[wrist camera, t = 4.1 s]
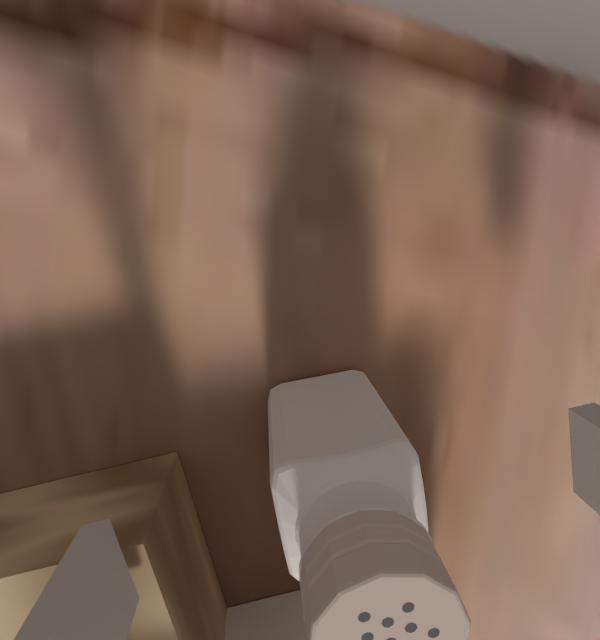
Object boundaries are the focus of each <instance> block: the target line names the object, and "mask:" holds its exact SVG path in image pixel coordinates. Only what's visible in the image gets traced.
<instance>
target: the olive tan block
mask: <svg viewBox="0 0 600 640" xmlns="http://www.w3.org/2000/svg"><path fill="white" fill-rule="evenodd" d="M106 519H110V522H111V524H112V527H113V530H114V532H115V535H116V537H117V540H118V543H119V545H120V548H121V551H122V553H123V556H124V558H125V561H126V564H127V566H128V569H129V572H130V574H131V577H132V579H133V582H134V585H135V587H136V590H137V592H138V595H139V598H140V599H139V602H138V605H137V608H136V611H135V614H134V617H133V620H132V623H131V626H130V629H129V632H128V635H127V638H126V640H224V637H225V626H226V615H227V606H226V603H225V600H224V597H223V593H222V590H221V587H220V584H219V581H218V578H217V575H216V572H215V568H214V565H213V562H212V559H211V556H210V553H209V550H208V547H207V543H206V540H205V537H204V534H203V531H202V528H201V525H200V522H199V518H198V515H197V512H196V509H195V506H194V503H193V500H192V497H191V493H190V490H189V487H188V484H187V481H186V478H185V475H184V472H183V468H182V465H181V462H180V459H179V456H178V453H177V452H174V453H170V454H165V455H161V456H157V457H153V458H149V459H144V460H140V461H136V462H132V463H128V464H123V465H119V466H115V467H111V468H106V469H102V470H98V471H94V472H90V473H85V474H81V475H77V476H73V477H69V478H64V479H60V480H56V481H52V482H48V483H43V484H39V485H35V486H31V487H27V488H22V489H18V490H14V491H10V492H5V493H1V494H0V640H14V638H15V636H16V635H17V633H18V631H19V630H20V628H21V626H22V625H23V623H24V621H25V620H26V618H27V616H28V615H29V613H30V611H31V609H32V608H33V606H34V604H35V603H36V601H37V599H38V598H39V596H40V594H41V593H42V591H43V589H44V588H45V586H46V584H47V583H48V581H49V579H50V578H51V576H52V574H53V572H54V571H55V569H56V567H57V566H58V564H59V562H60V561H61V559H62V557H63V556H64V554H65V552H66V551H67V549H68V547H69V546H70V544H71V542H72V541H73V539H74V537H75V536H76V534H77V532H78V530H79V529H80V527H81V525H85V524H89V523H93V522H97V521H102V520H106Z"/></svg>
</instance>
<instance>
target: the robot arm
mask: <svg viewBox="0 0 600 640" xmlns="http://www.w3.org/2000/svg"><path fill="white" fill-rule="evenodd" d="M568 411H569V427H570V443H571V459H572V475H573V491H574V493H576V494H577V495H578V496H579V497H580V498H581V499H582V500H584V501H585V502H586V503H587V504H588V505H589V506H590V507H591V508H593V509H594V510H595V511H596V512H597V513H598V514H599V515H600V405H598V404H596V403H590V404H586V405H582V406H578V407H574V408H569V409H568ZM139 599H140V598H139V595H138V592H137V590H136V587H135V585H134V582H133V579H132V577H131V574H130V572H129V569H128V566H127V564H126V561H125V558H124V556H123V553H122V551H121V548H120V545H119V543H118V540H117V537H116V535H115V532H114V530H113V527H112V524H111V522H110V519H106V520H102V521H97V522H93V523H89V524H85V525H81V527H80V529H79V530H78V532H77V534H76V536H75V537H74V539H73V541H72V542H71V544H70V546H69V547H68V549H67V551H66V552H65V554H64V556H63V557H62V559H61V561H60V562H59V564H58V566H57V567H56V569H55V571H54V572H53V574H52V576H51V578H50V579H49V581H48V583H47V584H46V586H45V588H44V589H43V591H42V593H41V594H40V596H39V598H38V599H37V601H36V603H35V604H34V606H33V608H32V609H31V611H30V613H29V615H28V616H27V618H26V620H25V621H24V623H23V625H22V626H21V628H20V630H19V631H18V633H17V635H16V636H15V638H14V640H126V638H127V635H128V632H129V629H130V626H131V623H132V620H133V617H134V614H135V611H136V608H137V605H138V602H139Z"/></svg>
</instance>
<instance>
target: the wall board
mask: <svg viewBox="0 0 600 640" xmlns="http://www.w3.org/2000/svg"><path fill="white" fill-rule="evenodd" d="M302 603H303V602H302V600H301V591H300V590H297V591H293V592H289V593H285V594H281V595H277V596H273V597H269V598H265V599H261V600H257V601H253V602H249V603H245V604H241V605H237V606H233V607H229V608H227V615H226V626H225V637H224V640H306V639H305V629H304V619H303V610H302Z"/></svg>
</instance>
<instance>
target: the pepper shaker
mask: <svg viewBox="0 0 600 640" xmlns="http://www.w3.org/2000/svg"><path fill="white" fill-rule="evenodd" d="M268 428H269V463H270V486H271V492H272V497H273V502H274V507H275V513H276V518H277V522H278V527H279V532H280V537H281V541H282V546H283V550H284V554H285V558H286V562H287V566H288V570H289V573H290V574H291V575H292V576H293V577H294V578H295V579H297V580H298V581H300V591H301V600H302V602H303V603H302V610H303V619H304V629H305V639H306V640H467V637H468V633H469V628H470V624H471V620H470V618H469V616H468V613H467V611H466V609H465V607H464V605H463V602H462V600H461V598H460V596H459V594H458V592H457V589H456V587H455V585H454V584H453V582H452V580H451V578H450V576H449V574H448V572H447V570H446V568H445V566H444V565H443V563H442V561H441V559H440V557H439V555H438V553H437V551H436V549H435V547H434V544H433V540H432V538H431V537H430V535H429V533H428V520H427V509H426V500H425V493H424V486H423V480H422V474H421V469H420V463H419V458H418V454H417V452H416V451H415V449H414V448H413V446H412V444H411V443H410V441H409V440H408V438H407V437H406V435H405V434H404V432H403V431H402V429H401V428H400V426H399V425H398V423H397V422H396V420H395V419H394V417H393V416H392V414H391V413H390V411H389V409H388V408H387V406H386V405H385V403H384V402H383V400H382V399H381V397H380V396H379V394H378V393H377V391H376V390H375V388H374V387H373V385H372V384H371V382H370V381H369V379H368V378H367V376H366V375H365V373H364V372H362V371H356V370H348V371H343V372H338V373H333V374H328V375H323V376H318V377H312V378H307V379H302V380H297V381H292V382H287V383H282V384H279V385H277V386H276V387H274V388H272V389H271V390H270V393H269V398H268Z"/></svg>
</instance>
